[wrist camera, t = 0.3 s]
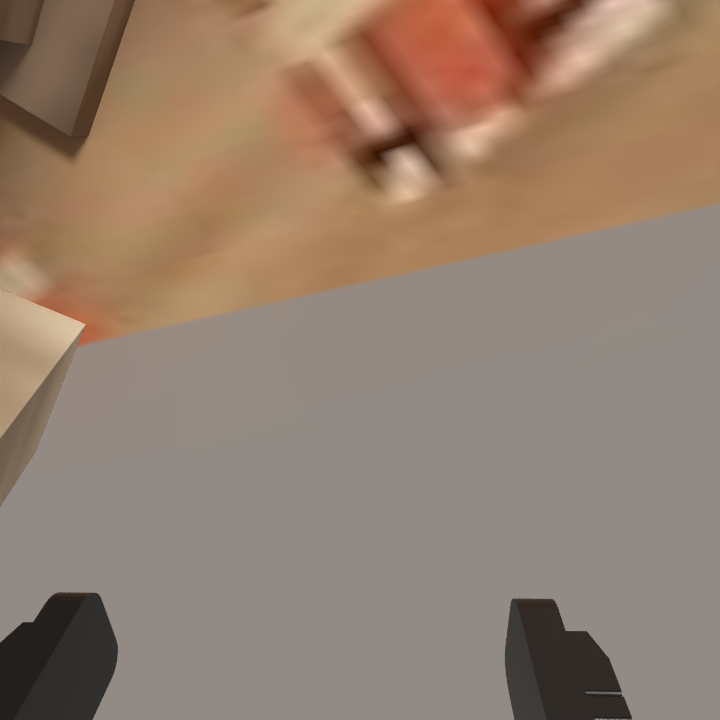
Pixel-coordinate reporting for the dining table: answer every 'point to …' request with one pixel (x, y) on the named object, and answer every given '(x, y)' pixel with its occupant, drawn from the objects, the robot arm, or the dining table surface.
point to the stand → (59, 57)
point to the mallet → (29, 377)
